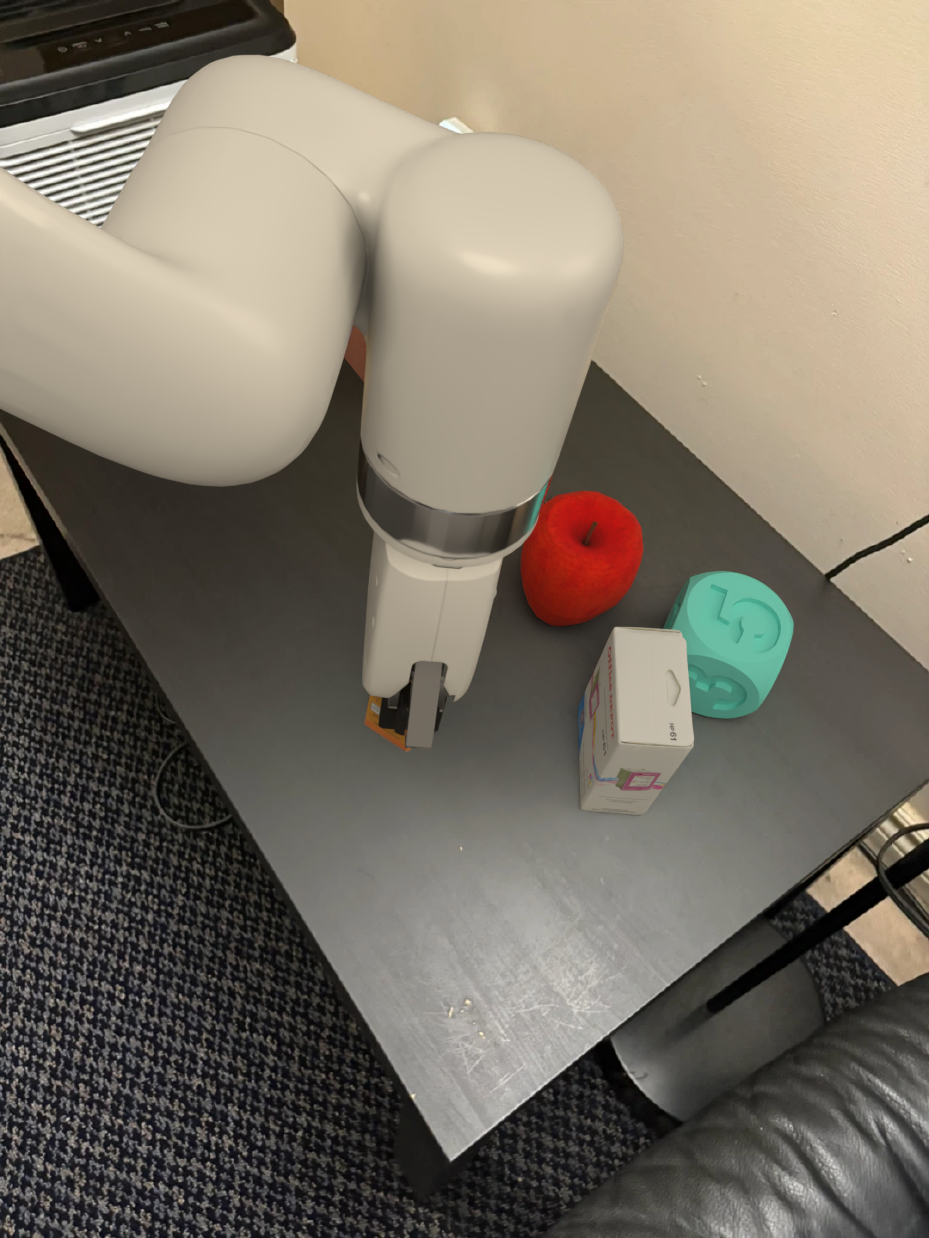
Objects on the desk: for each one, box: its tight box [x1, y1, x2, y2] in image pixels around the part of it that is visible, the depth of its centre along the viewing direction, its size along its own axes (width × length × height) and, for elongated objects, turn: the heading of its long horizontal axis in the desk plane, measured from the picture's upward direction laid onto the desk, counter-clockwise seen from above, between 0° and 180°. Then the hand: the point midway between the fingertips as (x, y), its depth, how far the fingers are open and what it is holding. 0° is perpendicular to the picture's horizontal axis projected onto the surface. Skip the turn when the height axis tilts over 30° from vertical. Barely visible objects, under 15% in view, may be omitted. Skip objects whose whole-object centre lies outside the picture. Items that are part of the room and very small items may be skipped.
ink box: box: [577, 626, 695, 816], centre depth 66 cm, size 9×5×12 cm, turn 178°
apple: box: [520, 490, 644, 627], centre depth 73 cm, size 9×9×11 cm
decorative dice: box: [662, 570, 795, 719], centre depth 72 cm, size 8×8×8 cm
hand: (410, 683), depth 53 cm, fingers closed on supplement box, 4 cm apart
